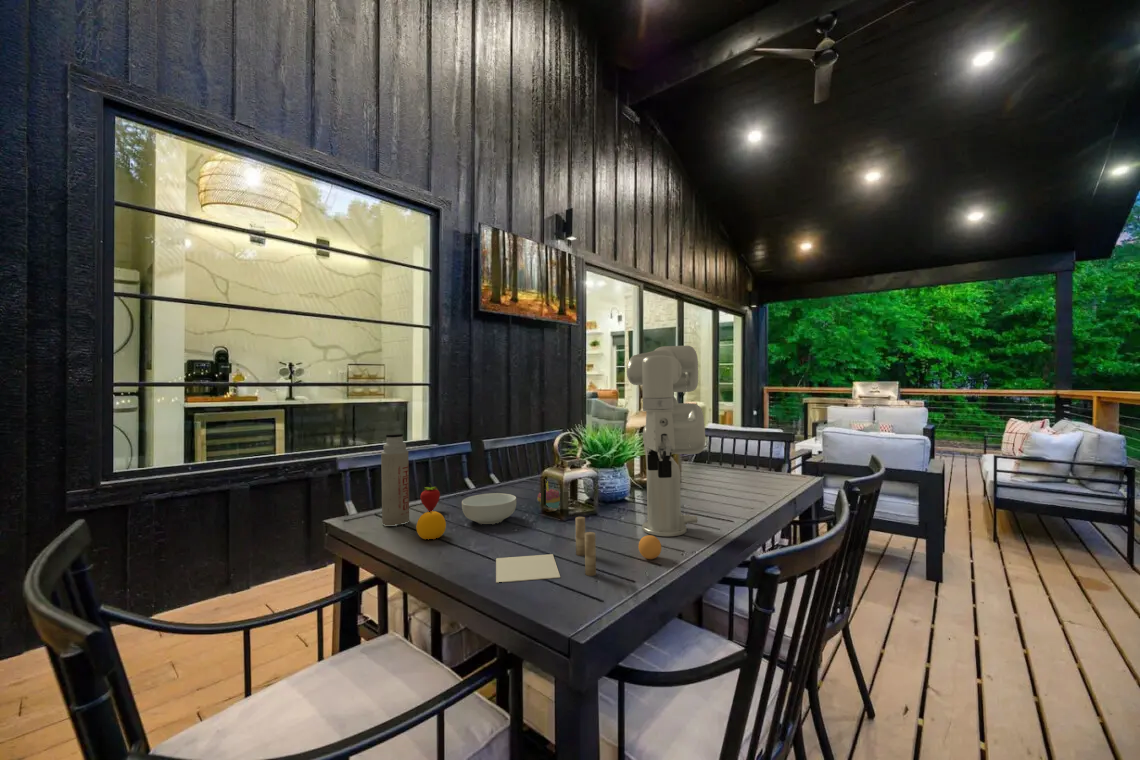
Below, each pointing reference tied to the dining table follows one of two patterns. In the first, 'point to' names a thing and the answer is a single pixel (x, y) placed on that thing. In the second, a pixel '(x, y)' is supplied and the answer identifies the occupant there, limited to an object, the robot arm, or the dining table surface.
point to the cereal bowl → (489, 507)
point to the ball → (650, 547)
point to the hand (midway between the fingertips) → (659, 473)
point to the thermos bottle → (395, 481)
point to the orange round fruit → (431, 525)
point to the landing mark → (526, 568)
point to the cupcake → (551, 497)
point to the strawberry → (430, 497)
